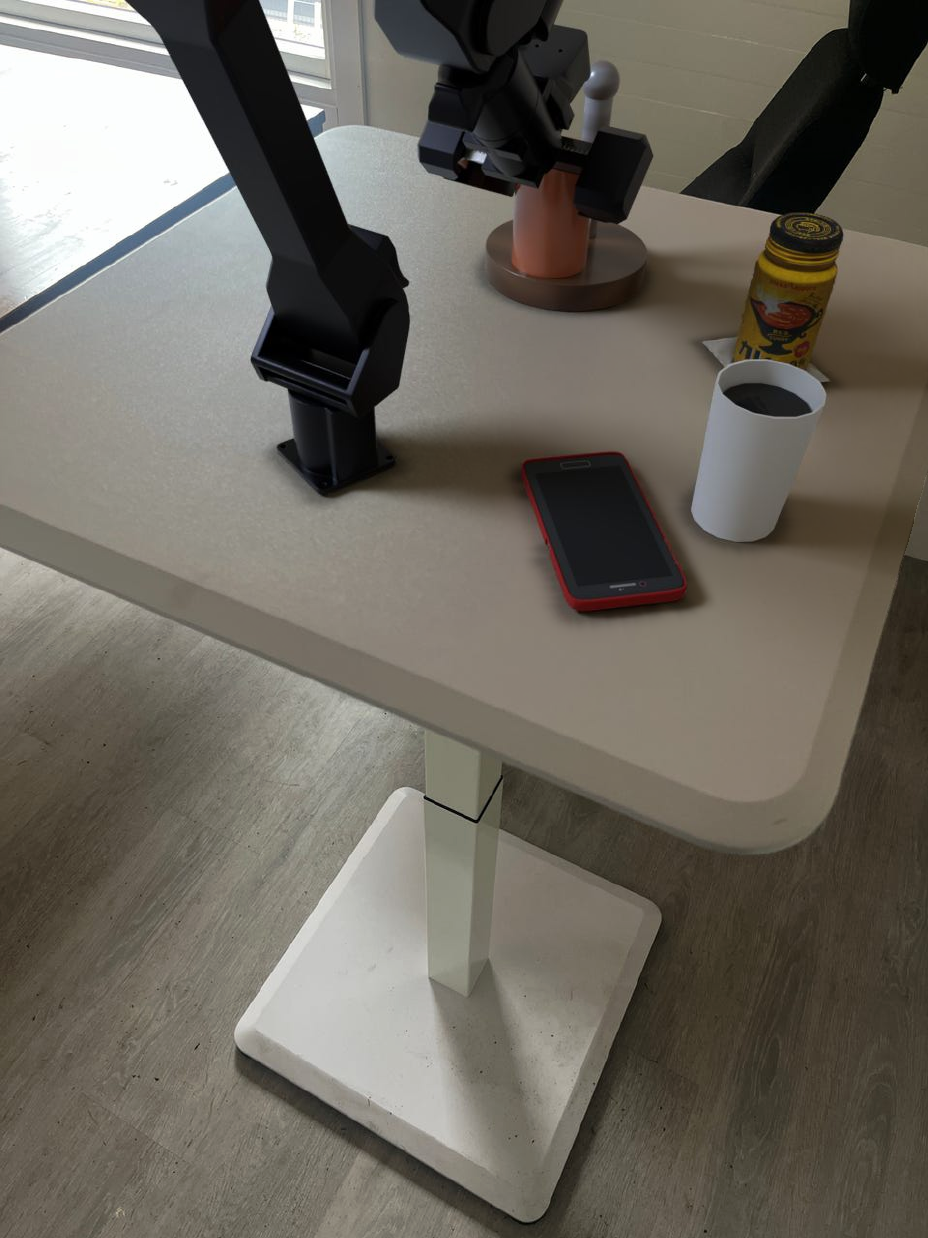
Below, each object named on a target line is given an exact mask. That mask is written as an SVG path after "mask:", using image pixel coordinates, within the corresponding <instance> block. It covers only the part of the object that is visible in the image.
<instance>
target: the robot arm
mask: <svg viewBox="0 0 928 1238" xmlns="http://www.w3.org/2000/svg"><path fill="white" fill-rule="evenodd" d="M124 2H125V3H126V4H128V5H129V6H130V7H131V9H133V10H134V11H135V12H136V13H137V14H138V15H140V16H141V17H142V18H143V19H144V20H145V21H146V22H147V23H148V24H149V25H150V26H151V27H152V28H153V29H154V31H155V32H156V33H157V35H158V36H159V38H160V39H161V41H162V43H163V45H164V48H165V49H166V51H167V53H168V55H169V57H170V59H171V61H172V63H173V65H174V67H175V69H176V71H177V73H178V75H179V76H180V78H181V81H182V82H183V84H184V86H185V89H186V90H187V92H188V94H189V97H190V98H191V100H192V102H193V105H194V106H195V108H196V110H197V112H198V114H199V116H200V117H201V120H202V121H203V123H204V125H205V127H206V129H207V131H208V134H209V136H210V137H211V139H212V141H213V143H214V145H215V147H216V149H217V151H218V153H219V155H220V157H221V158H222V161H223V163H224V165H225V166H226V168H227V171H228V172H229V175H230V176H231V178H232V180H233V182H234V184H235V186H236V189H237V190H238V192H239V194H240V196H241V198H242V200H243V202H244V203H245V205H246V208H247V210H248V211H249V213H250V215H251V217H252V219H253V221H254V224H255V225H256V227H257V229H258V231H259V233H260V235H261V237H262V239H263V241H264V242H265V245H266V246H267V248H268V250H269V252H270V255H271V259H270V260H271V261H270V264H269V268H268V272H267V278H266V282H265V288H266V293H267V297H268V299H269V303H270V308H269V310H268V313H267V316H266V317H265V320H264V323H263V326H262V327H261V330H260V333H259V335H258V337H257V340H256V342H255V345H254V347H253V350H252V352H251V355H250V358H249V359H250V364H251V366H252V367H253V369H254V371H255V373H256V374H257V377H258V378H259V380H261V381H263V382H266V383H268V382H269V383H272V384H274V385H276V386H280V387H282V388H285V389H287V396H288V403H289V411H290V412H289V413H290V418H291V426H292V433H293V438H290V439H288V440H284V441H283V442H280V443H278V444H277V445H276V451H277V454H278V455H279V456H280V457H281V458H282V459H283V460H284V461H285V462H286V463H287V464H288V465H289V466H290V468H292V469H293V470H294V471H295V472H296V473H297V475H299V477H301V479H303V480H304V481H305V482H306V483H307V484H308V485H309V486H310V487H311V489H312V490H314V491H315V492H316V493H317V494H318V495H327V494H329V493H332V492H334V491H336V490H339V489H341V488H344V487H346V486H349V485H351V484H353V483H356V482H358V481H361V480H362V479H365V478H367V477H370V476H372V475H375V474H378V473H380V472H382V471H384V470H387V469H389V468H392V467H394V466H395V465H396V464H397V456H396V455H395V454H394V452H392V451H391V450H390V449H388V447H386V446H385V445H384V444H383V443H382V442H380V440H378V438H377V421H376V407H377V406H378V405H379V404H380V403H381V402H383V401H384V400H385V399H386V398H388V397H389V396H390V395H392V394H393V393H394V392H396V391H397V390H398V389H399V387H400V385H401V384H400V383H401V378H402V372H403V368H404V367H403V366H404V361H405V355H406V349H407V345H408V340H409V339H408V338H409V333H410V328H411V327H410V326H411V314H410V306H409V302H408V297H407V293H406V291H405V288H408V286H409V285H410V280H409V279H407V277H406V276H405V275H404V273H403V272H402V270H401V267H400V263H399V258H398V252H397V248H396V246H395V244H394V243H393V241H392V239H391V237H389V236H388V235H386V234H383V233H380V232H377V231H373V230H370V229H366V228H363V227H361V226H357V225H355V224H350V223H349V222H348V220H347V218H346V215H345V212H344V210H343V207H342V205H341V203H340V200H339V197H338V195H337V192H336V189H335V188H334V185H333V182H332V180H331V177H330V175H329V172H328V170H327V167H326V165H325V162H324V160H323V157H322V154H321V152H320V149H319V148H318V147H319V146H318V145H317V142H316V139H315V137H314V134H313V133H312V129H311V127H310V125H309V122H308V120H307V117H306V115H305V112H304V110H303V106H302V104H301V102H300V99H299V96H298V94H297V91H296V89H295V86H294V84H293V82H292V80H291V77H290V74H289V71H288V69H287V67H286V63H285V62H284V59H283V57H282V54H281V51H280V49H279V46H278V44H277V42H276V39H275V36H274V34H273V31H272V29H271V26H270V24H269V21H268V19H267V16H266V14H265V11H264V9H263V7H262V4H261V1H260V0H124ZM563 3H564V0H372V16H373V19H374V20H375V22H376V24H377V25H378V27H379V28H380V30H381V32H382V33H383V34H384V36H385V37H386V39H387V41H388V43H389V44H390V45H391V47H392V48H393V50H394V51H395V52H396V54H398V55H400V56H401V57H403V58H404V59H408V60H414V61H418V62H423V63H428V64H430V65H431V64H432V65H436V66H438V68H437V74H436V75H437V76H436V77H437V81H436V82H435V84H434V88H433V89H434V90H433V91H434V92H433V93H432V95H431V98H430V101H429V104H428V107H427V108H428V110H427V119H426V122H425V124H424V126H423V129H422V132H421V133H420V137H419V139H418V142H417V146H416V147H417V148H416V151H417V159H418V162H419V163H420V165H421V166H422V167H423V168H424V170H425V171H426V172H427V173H428V174H430V175H435V176H438V177H441V178H442V179H444V180H447V181H451V182H454V183H458V184H462V185H464V186H465V185H466V186H469V187H473V188H476V189H479V190H484V191H488V192H491V193H495V194H497V195H502V196H506V197H509V198H513V197H514V196H515V184H516V183H518V184H522V185H526V186H530V187H533V188H537V189H539V186H540V184H541V181H542V179H543V176H544V175H545V174H547V173H548V172H549V171H550V170H551V169H554V170H558V171H562V172H566V173H570V174H574V175H578V176H579V177H578V180H577V182H576V185H575V191H574V201H573V204H574V205H575V207H576V209H577V210H578V211H579V212H578V215H579V216H582V217H586V218H590V219H593V220H597V221H600V222H604V223H610V222H611V223H614V224H619V225H620V224H621V223H623V222H624V221H626V220H628V218H629V215H630V213H631V212H632V211H631V210H632V209H633V206H634V203H635V201H636V199H637V197H638V194H639V191H640V190H641V187H642V185H643V182H644V180H645V178H646V175H647V173H648V171H649V168H650V166H651V163H652V161H653V159H654V153H653V150H652V147H651V144H650V142H649V139H648V137H647V134H645V133H641V132H636V131H631V130H627V129H623V128H618V127H615V126H611V125H610V126H606V125H605V126H604V127H602V128H601V129H599V130H598V132H597V134H596V137H595V139H594V141H593V143H590V142H586V141H582V140H581V139H580V140H577V139H578V138H577V139H573V138H574V137H572V138H569V137H570V136H564V135H562V133H563V130H564V131H569V130H570V128H571V126H572V123H573V121H574V119H575V116H576V114H575V112H574V110H573V108H572V106H571V103H573V102H574V100H575V98H576V97H577V95H578V94H579V92H580V90H581V89H582V86H583V84H584V83H585V81H588V79H589V78H590V76H591V68H590V65H591V58H590V47H589V37H588V33H587V32H586V31H585V30H583V29H580V28H574V27H570V26H565V25H559V24H555V23H556V20H557V17H558V15H559V12H560V11H561V8H562V5H563ZM570 150H571V151H570ZM579 152H580V153H579Z"/></svg>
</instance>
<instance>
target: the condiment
mask: <svg viewBox="0 0 928 1238" xmlns="http://www.w3.org/2000/svg"><path fill="white" fill-rule="evenodd" d="M843 241H844V230H843V228H842V226H841V225H840V224H839V223H838V222H837V221H836V220H834V218H833V219H832V218H830V217H829V216H825V215H822V214H819V213H818V214H817V213H812V212H809V211H808V212H807V211H806V212H802V211H797V212H794V211H793V212H789V213H784V214H782V215H779V216H777V217H776V218H774V220H772V222H771V224H770V227H769V233H768V237H767V239H766V241H765V244H764V250H762V251H761V253H760V254H759V255H758V257H757V259H756V261H755V264H754V267H753V274H752V278H751V279H750V282H749V283H750V284H749V287H748V291H747V292H748V293H747V296H746V298H745V302H744V309H743V312H742V313H741V317H740V318H741V319H740V325H739V329H738V331H737V334H736V335H737V336H734V337H725V338H724V337H723V338H719V339H711V340H703V341H701V343H702V344H703V345H704V346H705V347H706V348H707V349H708V351H709V352H710V353H712V354H713V356H714V357H715V358H716V359H717V360H718V362H720V364H721V365H722V366H723V368H725V367H726V366H728V365H729V364H732V363H736V362H739V361H743V360H772V361H777V362H782V363H787V364H790V365H792V366H795V367H797V368H799V369H802V370H804V371H806V372H808V373H809V374H810V375H812V376H813V377H814V378H816V379H817V380H818V381H820V383H826V382H830V381H831V380H830V379H829V378H828V377H827V376H826V375H825V374H824V373H822V372H821V371H820V370H819V369H818V368H817V367H816V366H815V365H814V364H812V363H811V362H810V361H811V359H812V354H813V351H814V349H815V346H816V342H817V339H818V336H819V332H820V329H821V326H822V324H823V320H824V317H825V315H826V312H827V307H828V304H829V301H830V299H831V295H832V294H833V291H834V286H835V284H836V279H837V275H838V265H837V262H836V260H837V259H838V257H839V255H840V248H841V246H842V243H843Z"/></svg>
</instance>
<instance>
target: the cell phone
mask: <svg viewBox="0 0 928 1238" xmlns="http://www.w3.org/2000/svg"><path fill="white" fill-rule="evenodd" d="M520 475H521V480H522V482H523V485H524V488H525V492H526V495H527V498H528V500H529V502H530V505H531V507H532V510H533V513H534V517H535V519H536V522H537V525H538V528H539V530H540V533H541V536H542V539H543V541H544V544H545V545H546V546H547V547H548V550H549V552H548V555H549V559H550V561H551V564H552V566H553V570H554V572H555V575H556V578H557V580H558V583H559V586H560V589H561V592H562V594H563V595H562V596H563V597H564V599H565V601H566V603H567V604H568V606H569V607H570V608H571V609H572V610H574V611H577V612H588V611H599V610H608V609H616V608H625V607H631V606H632V607H633V606H641V605H650V604H659V603H667V602H673V601H677V600H681V599H682V598H684V597H685V596H686V592H687V589H688V584H687V580H686V576H685V575H684V572H683V570H682V567H681V565H680V563H679V561H678V559H677V557H676V555H675V553H674V551H673V549H672V547H671V545H670V543H669V541H668V539H667V537H666V535H665V533H664V531H663V529H662V527H661V525H660V523H659V521H658V519H657V517H656V514H655V513H654V510H653V509H652V507H651V505H650V502H649V501H648V499H647V496H646V494H645V492H644V490H643V488H642V486H641V484H640V482H639V480H638V478H637V476H636V474H635V472H634V470H633V468H632V466H631V464H630V462H629V461H628V459H627V458H626V455H624V454H623V453H622V452H620V451H615V450H613V451H597V452H587V453H586V452H585V453H576V454H575V453H574V454H565V455H555V456H545V457H533V458H528V459H526V460H524V461H522V463H521V465H520Z"/></svg>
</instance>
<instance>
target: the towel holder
mask: <svg viewBox="0 0 928 1238" xmlns="http://www.w3.org/2000/svg"><path fill="white" fill-rule="evenodd" d="M590 68H591V76H590V78H589V79H588V81H585V83H584V84H583V86H582V87H581V89H582V91H583V94H584V105H583V112H582V113H583V114H582V124H581V132H580V140H583V141H586V142H590V143H593V141H594V139H595V137H596V134H597V132H598V130H599V129H601V128H602V127H604V126H605V125H606V126H610V127H611V120H612V119H611V118H612V111H613V103H614V97H615V96H616V95H617V93H618V92H619V89H620V85H621V76H620V75H621V74H620V71H619V70H618V68H617V67H616V65H615V64H614V63H613V62H611V61H610V60H606V59H599V60H596V61H593V62H592V63H590ZM512 234H513V219H510V220H508V221H505V222H503V223H502V224H499V225H498V226H496V228H494V229H493V230H492V231H491V232H490V233H489V234H488V236H487V238H486V241H485V253H484V274H485V277H486V280H487V281H488V282H489V284H490V285H491V286H492V287H493V288H494V289H495V290H496V291H498V292H499V293H500V294H502V295H503V296H505V297H506V298H508V299H511V300H513V301H514V302H515V301H516V302H518V303H520V304H523V305H527V306H529V307H534V308H538V309H543V310H549V311H559V312H588V311H596V310H602V309H607V308H611V307H613V306H618V305H619V304H622V303H625V302H626V301H628V300H629V299H631V298H632V297H634V296H636V295H637V294H638V292H639V291H640V289H642V286H643V284H644V278H645V272H646V266H647V260H648V249H647V246H646V244H645V242H644V241H643V240H642V239H641V237H639V236H638V235H637V234H636V233H635V232H634V231H632V230H630V229H628V228H627V227H625V226H623V225H621V224H620V223H619V224H614V223H611V222H610V223H604V222H600V221H597V220H593V219H591V226H590V235H589V243H588V251H587V260H586V266H585V267H584V269H583V270H582V271H581V272H579V273H577V274H575V275H572V276H569V277H564V278H541V277H535V276H531V275H528V274H526V273H523V272H521V271H519V270H518V269H517V268H516V267H514V265H513V264H512V262H511V251H512Z"/></svg>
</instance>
